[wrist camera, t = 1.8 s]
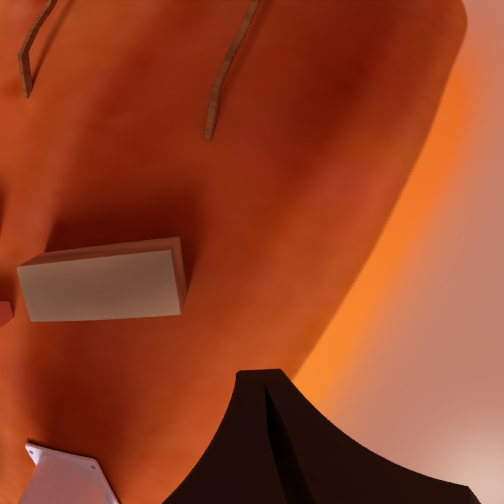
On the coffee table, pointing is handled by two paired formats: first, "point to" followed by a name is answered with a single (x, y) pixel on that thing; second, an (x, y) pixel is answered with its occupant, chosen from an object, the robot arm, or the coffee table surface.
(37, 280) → the beige rectangular block
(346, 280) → the coffee table surface
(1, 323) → the end cap
